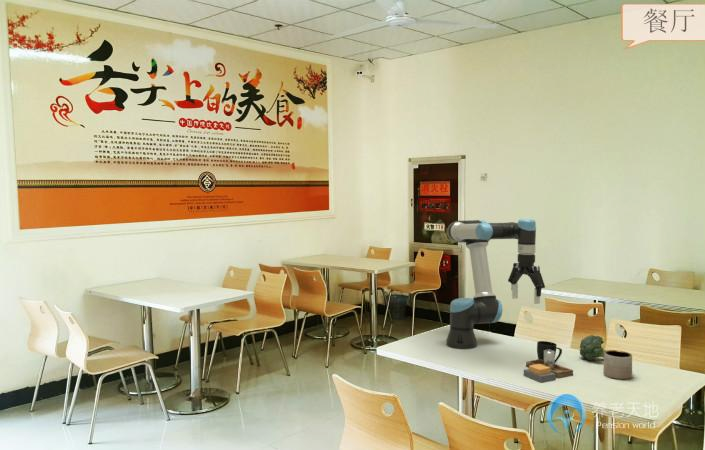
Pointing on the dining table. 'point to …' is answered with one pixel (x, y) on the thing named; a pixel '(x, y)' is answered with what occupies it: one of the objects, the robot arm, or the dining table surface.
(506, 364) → the dining table surface
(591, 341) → the vegetable
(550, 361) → the cell
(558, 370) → the wooden tray
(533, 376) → the frame
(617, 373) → the planter
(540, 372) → the orange square block
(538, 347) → the mug
